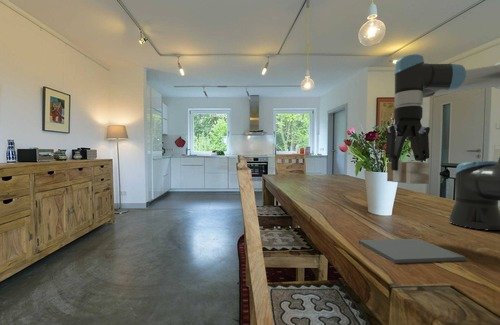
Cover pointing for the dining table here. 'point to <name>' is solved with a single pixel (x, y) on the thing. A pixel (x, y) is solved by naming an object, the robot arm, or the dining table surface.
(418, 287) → the dining table surface
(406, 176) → the block
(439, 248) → the mat
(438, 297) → the dining table surface
